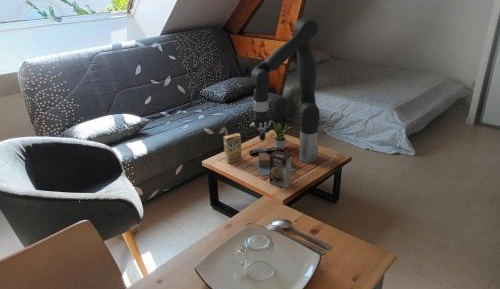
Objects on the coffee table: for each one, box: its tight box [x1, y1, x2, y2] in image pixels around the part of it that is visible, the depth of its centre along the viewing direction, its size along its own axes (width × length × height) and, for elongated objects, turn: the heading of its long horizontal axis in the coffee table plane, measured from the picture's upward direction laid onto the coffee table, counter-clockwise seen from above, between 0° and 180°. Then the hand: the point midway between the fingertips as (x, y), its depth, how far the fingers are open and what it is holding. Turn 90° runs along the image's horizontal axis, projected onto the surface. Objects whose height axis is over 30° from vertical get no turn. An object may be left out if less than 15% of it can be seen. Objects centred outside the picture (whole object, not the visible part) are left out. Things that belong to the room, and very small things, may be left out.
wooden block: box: [258, 152, 294, 167], centre depth 196 cm, size 9×4×18 cm
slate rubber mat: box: [253, 160, 296, 177], centre depth 195 cm, size 19×16×1 cm
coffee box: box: [269, 150, 293, 189], centre depth 176 cm, size 9×6×16 cm
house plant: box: [270, 122, 291, 150], centre depth 212 cm, size 14×14×16 cm
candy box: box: [223, 132, 243, 164], centre depth 200 cm, size 9×4×15 cm, turn 118°
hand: (262, 139), depth 186 cm, fingers closed
